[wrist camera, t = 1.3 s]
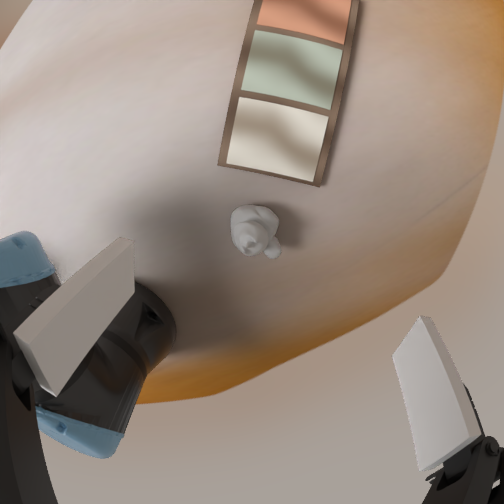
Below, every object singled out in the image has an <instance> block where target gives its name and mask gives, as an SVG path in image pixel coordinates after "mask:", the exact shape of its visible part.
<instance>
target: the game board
mask: <svg viewBox="0 0 504 504" xmlns="http://www.w3.org/2000/svg"><path fill="white" fill-rule="evenodd" d="M358 5H359V0H254V4H253V7H252V11H251V14H250V18H249V22H248V26H247V30H246V34H245V37H244V41H243V45H242V50H241V54H240V58H239V62H238V66H237V71H236V75H235V80H234V84H233V89H232V93H231V98H230V103H229V107H228V112H227V117H226V122H225V127H224V132H223V137H222V143H221V148H220V154H219V159H218V166H224V167H230V168H235V169H240V170H245V171H250V172H255V173H260V174H265V175H269V176H274V177H278V178H283V179H287V180H292V181H296V182H300V183H304V184H308V185H312V186H316V187H320V184H321V181H322V177H323V173H324V169H325V165H326V161H327V157H328V153H329V149H330V145H331V141H332V137H333V133H334V128H335V124H336V120H337V115H338V111H339V107H340V102H341V97H342V93H343V88H344V83H345V78H346V73H347V68H348V63H349V58H350V53H351V47H352V42H353V36H354V30H355V24H356V18H357V12H358Z"/></svg>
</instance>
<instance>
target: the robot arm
mask: <svg viewBox="0 0 504 504" xmlns="http://www.w3.org/2000/svg"><path fill="white" fill-rule="evenodd" d="M55 271H56V270H55V268H54V265H53V264H52V263H50V261H49V259H48V257H47V255H46V253H45V251H44V249H43V247H42V245H41V243H40V241H39V239H38V238H37V236H36V235H34V234H33V233H31V232H28V231H21V232H18V233H15V234H12V235H10V236H7V237H5V238H3V239H0V504H58V502H57V499H56V496H55V494H54V490H53V487H52V484H51V481H50V477H49V474H48V470H47V466H46V462H45V459H44V454H43V449H42V445H41V439H40V434H39V430H41V431H42V432H43V433H45V434H46V435H48V436H49V437H51V438H53V439H54V440H56V441H58V442H60V443H61V444H63V445H65V446H67V447H69V448H71V449H74V450H76V451H78V452H80V453H83V454H86V455H89V456H92V457H95V458H101V459H104V458H109V457H110V456H112V455H113V454H114V453H115V451H116V449H117V447H118V445H119V442H120V440H121V438H123V437H124V433H125V430H126V428H127V425H128V422H129V419H130V417H131V414H132V412H133V409H134V406H135V404H136V401H137V399H138V396H139V393H140V391H141V388H142V386H143V383H144V381H145V379H146V376H147V375H148V374H149V373H150V372H151V371H152V370H153V369H154V368H155V367H156V366H157V365H158V364H159V363H160V362H161V361H162V360H163V359H164V358H165V357H166V356H167V355H168V354H169V352H170V350H171V348H172V346H173V343H174V341H175V337H176V326H175V322H174V319H173V317H172V315H171V313H170V311H169V310H168V308H167V307H166V306H165V304H164V303H163V302H162V301H161V300H160V299H159V298H158V297H157V296H156V295H155V294H154V293H152V292H151V291H150V290H148V289H147V288H145V287H143V286H142V285H140V284H138V283H135V282H134V241H132V240H129V239H126V238H122V237H119V238H118V239H116V240H115V241H114V242H113V243H111V244H110V245H109V246H108V247H106V248H105V249H104V250H103V251H101V252H100V253H99V254H98V255H97V256H95V257H94V258H93V259H92V260H90V261H89V262H88V263H87V264H86V265H85V266H83V267H82V268H81V269H80V270H79V271H78V272H76V273H75V274H74V275H73V276H72V277H71V278H69V279H68V280H67V281H66V282H65V283H64V284H63V285H61V283H60V281H59V279H58V277H57V275H56V273H55ZM392 359H393V361H394V365H395V368H396V372H397V375H398V379H399V382H400V386H401V390H402V393H403V397H404V401H405V405H406V409H407V414H408V417H409V422H410V427H411V432H412V436H413V441H414V446H415V452H416V457H417V463H418V470H419V472H420V471H426V470H430V469H433V468H435V467H437V466H438V465H440V464H441V463H443V466H444V467H443V468H442V469H440V470H438V471H436V472H435V473H433V474H431V475H430V476H428V477H427V478H426V481H428V480H430V479H431V478H433V477H435V479H433V480H431V481H430V484H432V486H431V488H430V490H429V492H428V493H427V496H426V497H425V499H424V501H423V503H422V504H504V448H502V447H499V444H498V442H497V441H496V440H495V438H493V437H491V436H487V437H485V434H484V432H483V428H482V426H481V423H480V420H479V417H478V414H477V411H476V409H474V407H475V406H474V404H473V401H471V400H472V398H471V396H470V393H469V391H468V389H467V388H466V387H465V385H464V384H463V383H462V380H461V378H460V376H459V373H458V371H457V369H456V367H455V365H454V362H453V360H452V358H451V356H450V354H449V352H448V350H447V348H446V346H445V344H444V342H443V340H442V338H441V336H440V334H439V332H438V330H437V328H436V326H435V324H434V323H433V321H432V319H431V318H429V317H425V316H419V317H418V319H417V320H416V322H415V323H414V325H413V326H412V328H411V329H410V331H409V333H408V334H407V336H406V337H405V338H404V340H403V341H402V343H401V344H400V346H399V347H398V348H397V350H396V351H395V353H394V354H393V355H392ZM499 479H500V484H499V485H498V486H496V487H495V488H493V489H492V486H493V483H494V482H496V481H497V480H499Z"/></svg>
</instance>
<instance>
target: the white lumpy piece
mask: <svg viewBox="0 0 504 504" xmlns="http://www.w3.org/2000/svg"><path fill="white" fill-rule="evenodd" d="M278 225H279V219H278V217H277V216H276V215H275V214H274V213H273V212H272V211H271V210H270V209H269V208H267V207H264V206H256V205H242V206H240V207H238V208H236V209H235V210H234V211H233V212H232V214H231V237H232V241H233V244H234V245H235V246H236V247H237V248H238V249H239V250H240V251H241V252H242V253H243V254H244V255H246V256H255V255H258V254H260V253H261V252H264V254H265V255H266V256H267V257H269V258H270V259H275V258H277V257H279V256H280V254H281V246H280V244H279V241H278V239H277V238H276V237H275V236H274V235H275V233H276V232H277V228H278Z"/></svg>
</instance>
